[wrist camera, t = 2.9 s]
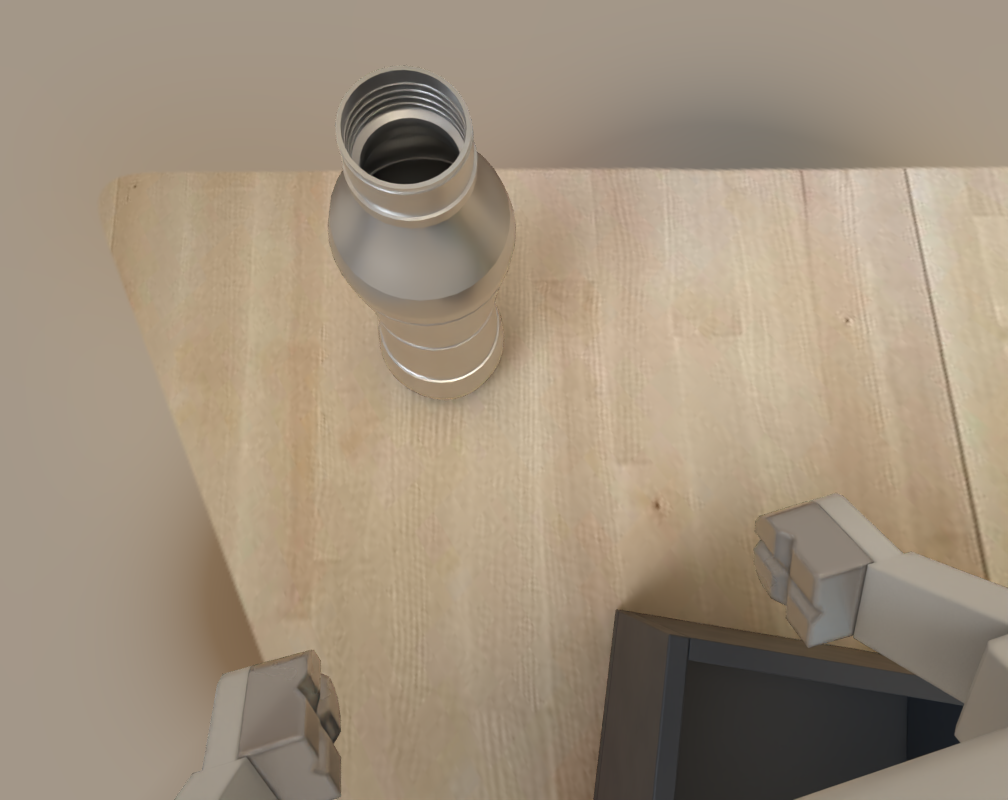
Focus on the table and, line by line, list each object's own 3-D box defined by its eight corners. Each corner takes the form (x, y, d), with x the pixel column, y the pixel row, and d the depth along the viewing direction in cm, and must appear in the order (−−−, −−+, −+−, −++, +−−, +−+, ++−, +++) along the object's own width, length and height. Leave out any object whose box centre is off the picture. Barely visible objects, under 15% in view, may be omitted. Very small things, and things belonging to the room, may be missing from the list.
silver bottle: (474, 277, 37) (467, -15, 18) (521, 383, 36) (570, 192, 17) (368, 318, 37) (241, 59, 17) (413, 427, 35) (330, 282, 16)
